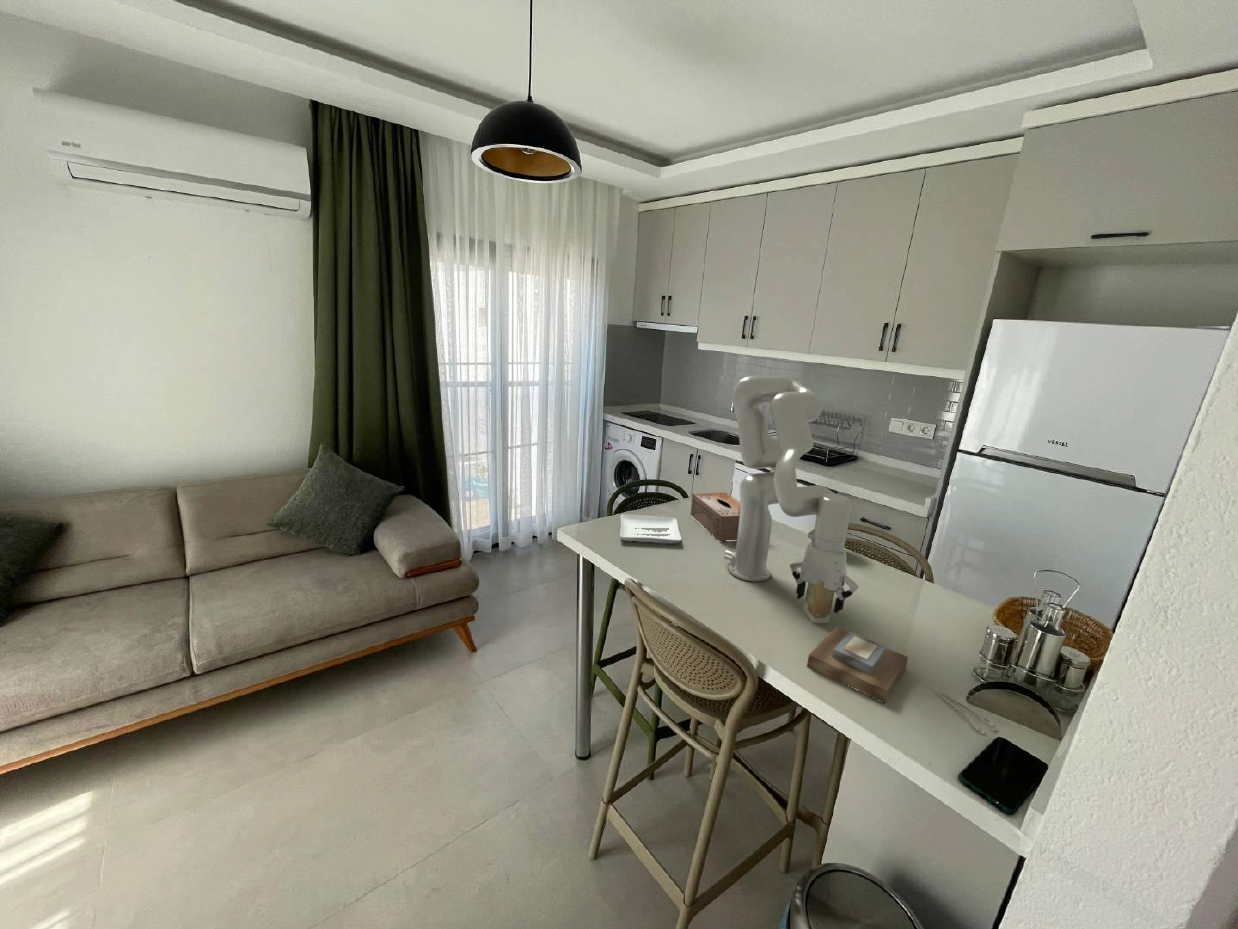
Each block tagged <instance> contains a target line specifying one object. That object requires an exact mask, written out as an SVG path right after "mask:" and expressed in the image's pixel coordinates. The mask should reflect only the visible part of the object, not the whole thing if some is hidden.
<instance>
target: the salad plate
mask: <svg viewBox="0 0 1238 929" xmlns="http://www.w3.org/2000/svg"><path fill="white" fill-rule="evenodd" d="M635 528H637V529H635ZM638 528H639V529H638ZM641 528H669V530H667V531H666V532H665V531H662V532H660V533H659V532H657V531H656V532H654V531H652V530H649V531H648V530H645V529H644V530H643V529H641ZM637 534H639V535H637ZM641 534H670V535H668V536H659V537H658V536H651V535H649V536H647V535H641ZM619 537H620V538H621V539H622V540H624V541H626V542H632V541H637V542H636V543H646V542H654V543H653V544H667V543H669V545H670V544H671V545H673V544H678V543H680V542H681V541H682V535H681V532H680V528H679V524H678V520H677V518H675V517H667V516H655V515H640V514H639V515H638V514H636V515H635V514H621V515H620V531H619Z"/></svg>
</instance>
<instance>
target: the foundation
mask: <svg viewBox="0 0 1238 929" xmlns="http://www.w3.org/2000/svg"><path fill="white" fill-rule="evenodd" d="M807 658H808V659H807V664H806V667H807V668H809V669H811V670H813V669H814V671H815V670H816V672H817V673H820V674H822V675H823V676H826V675H827V676H826V677H828V676H829V677H828V678H830V677H831V678H830V679H832V678H834V679H835V680H834V679H833V680H834V681H836V680H838V681H840V682H843V683H845V684H846V685H845V684H844V685H845V686H847V685H849V686H850V687H849V686H848V687H849V688H851V687H853V688H856V689H858V690H859V691H861V692H863V693H865V694H868V695H870V696H871V697H874V698H876V699H878V700H880V701H882V702H885V703H886V701H887V700H888V698H889V697H890V695H889V694H891V693H892V692H891V691H893V690H894V688H896V686H897V683H898V681H899V680H900V679H899V678H901V677H902V675H903V674H904V672H905V671H904V670H906V668H907V664H908V660H909V657H908V656H907V655H904V654H902V653H900V652H897V651H895V650H892V649H890V648H888V647H887V646H886V645H883V644H880V643H879V642H876V641H873V640H871V639H869V638H867V637H864V636H862V635H860V634H857V633H855V632H852V631H846V630H844V629H841V628H839V627H837V626H836V627H834V629H833V630H831V632H829V633H828V635H827V636H825V638H823V640H822V641H821V642H819V644H818V645H817V646H816V647H815V648H814V649H813V650H812V651H811V652H810V653H809V654H808V657H807ZM838 681H837V682H838ZM840 682H839V683H840ZM853 688H852V689H853ZM892 689H893V690H892ZM859 691H858V692H859ZM861 692H860V693H861ZM863 693H862V694H863ZM865 694H864V695H865ZM871 697H870V698H871ZM887 697H888V698H887ZM874 698H873V699H874ZM876 699H875V700H876ZM886 699H887V700H886ZM878 700H877V701H878ZM880 701H879V702H880ZM882 702H881V703H882Z"/></svg>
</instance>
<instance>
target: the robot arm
mask: <svg viewBox="0 0 1238 929" xmlns="http://www.w3.org/2000/svg"><path fill="white" fill-rule="evenodd" d="M731 400H732V406H733V412H734V414H735V417H736V422H737V428H738V429H737V430H738V439H739V440H738V441H739V448H740V455H741V460H742V461H741V462H742V463H743V465H744V466H745V467H746V468H748V469H752V470H753V469H754V470H755V469H756V470H757V469H768V468H769V470H770V471H768V472H757V473H752V474H748V475H746V476H745V477H744V478H743V479H742V480H741V482H740V484H739V499H740V500H739V502H740V518H739V527H738V535H737V542H736V543H735V544H736V545H735V552H732V551H730V550H725V552H724V557H723V559H725V560H727V561H730V563H729V564H728V571H729V573H730V574H731V575H732V576H734V577H735V578H737V579H741V580H744V581H747V582H764V581H767V580H768V579H770V577H771V570H770V569H769V567H767V562H768V554H769V549H770V548H769V546H770V541H771V534H772V525H773V518H772V517H773V516H772V514H771V511H770V509H769V506H770V505H776V504H779V508H781V510H782V512H783V513H784V514H785V515H786V516H788V517H793V518H798V517H806V516H816V517H815V521H814V522H815V523H814V530H813V532H808V533H807V538H809V539H810V540H811V542H809V543H808V544H807V547H806V549H805V552H804V555H803V559H802V561H797V562H792V563H791V564H790V565H789V567H790V570H791V574H792V577H793V578H794V579H795V583H796V584H797V585H796V593H795V594H796V599H798V600H799V599H801V598H803V597H804V596H805V594H806V586H807V584H808V583H810V584H813V585H816V586H817V585H818V580H822V581H824V582H825V584H824V588H825V589H827V590H829V591H834V594H836V597H837V598H835V601H834V602H835V603H834V607H833V613H834V614H838V613H839V612H840V611H842V610H844V604H845V600H846V599H847V598H849V597H851V596H852V595H853V594H854V593H855V592H856V591H858V589H859V588H860V587H859V586H860V585H858V584H857V583H856V582H854V580H853V579H851V577H849V576H848V575H847V562H848V561H847V557H848V556H847V550H846V549H845V544H846V539H847V535H848V533H847V529H849V528H848V527H849V522H850V516H851V512H852V500H851V499H850V498H848V497H847V496H844V495H841V494H838V493H835V492H834V491H832V490H830V489H829V488H827V487H826V486H824V485H820V484H819V485H818V484H817V485H816V484H815V485H805V486H804V485H803V486H798V481H797V470H796V467H797V463H798V462H799V460H800V458H801V457H802V456H804V455H805V454H806V453H809V452H810V451H811V450H812V449H813V447H814V440H813V436H812V433H811V429H810V426H809V423H811V422H814V421H816V420H818V418H819V417H820V416H821V413H822V408H823V406H822V403H821V400H820V398H819V396H817V394H816V393H814V391H812V390H811V389H809V388H808V387H806V386H805V385H803V384H801V383H800V382H798V381H796V380H795V379H793V378H792V377H789V376H787V375H786V376H785V375H765V374H763V375H762V374H759V375H758V374H757V375H749V376H746V377H743V378H741V379H739V381H738V382H737V383H736V385H735V386H734V389H733V393H732V399H731ZM760 406H769V407H770V413H771V418H772V421H773V425H774V429H775V435H770V434H769V427H768V426H769V424H768V420H767V418H766V416H765V414H764V412H763V411H762V410H761V409H760ZM799 568H801V569H800V571H799ZM845 584H846V586H848V587H849V589H847V590H845V588H844V585H845Z"/></svg>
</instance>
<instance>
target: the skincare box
mask: <svg viewBox="0 0 1238 929" xmlns="http://www.w3.org/2000/svg"><path fill="white" fill-rule="evenodd" d="M824 584H825V582H824V581H822V580H818V585H817V586H816V585H813V584H810V583H808V582H807V588H806V591H805V598H804V602H803V609H802V611H803V613H804V614H805V616H807V618H808V619H809V620H810V622H811V623H813V624H829V620H830V615H831V611H832V606H833V600H834V597H835V592H834V591H829V590H827V589H825V588H824Z"/></svg>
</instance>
